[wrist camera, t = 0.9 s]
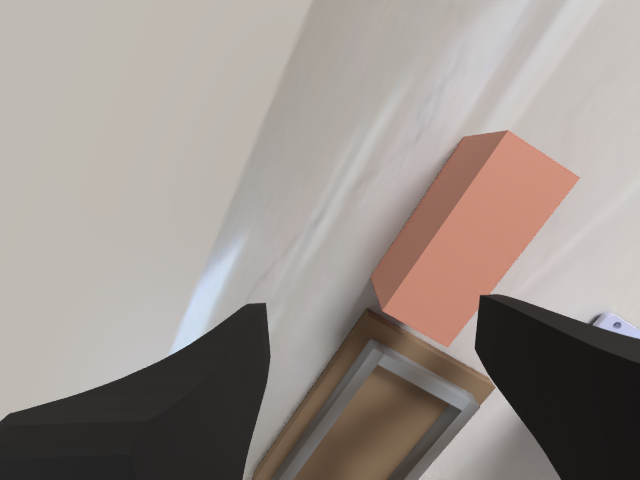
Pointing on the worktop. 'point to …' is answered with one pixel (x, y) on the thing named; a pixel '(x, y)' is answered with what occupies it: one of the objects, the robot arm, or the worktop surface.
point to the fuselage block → (468, 232)
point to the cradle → (377, 410)
